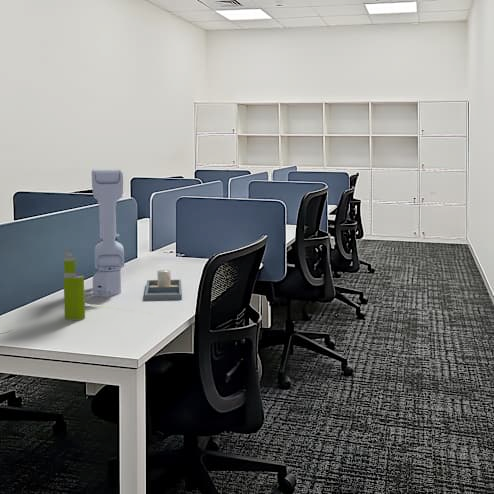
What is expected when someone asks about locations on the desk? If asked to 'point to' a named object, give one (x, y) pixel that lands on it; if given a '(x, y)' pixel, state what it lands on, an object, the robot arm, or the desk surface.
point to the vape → (73, 290)
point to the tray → (163, 291)
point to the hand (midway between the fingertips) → (108, 260)
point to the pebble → (164, 278)
